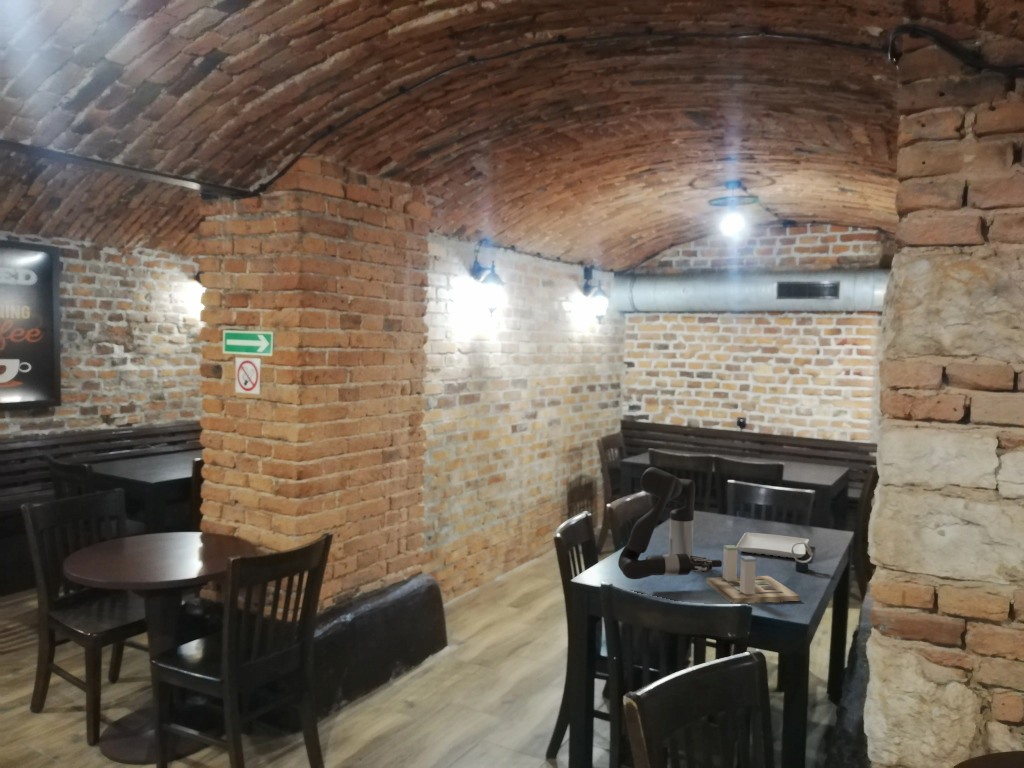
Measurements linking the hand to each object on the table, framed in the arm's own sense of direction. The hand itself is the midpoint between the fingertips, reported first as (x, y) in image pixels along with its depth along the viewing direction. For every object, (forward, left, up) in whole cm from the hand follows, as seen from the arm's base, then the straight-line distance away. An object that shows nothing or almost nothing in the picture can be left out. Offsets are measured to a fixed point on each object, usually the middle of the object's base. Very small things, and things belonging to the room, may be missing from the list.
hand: (720, 563), depth 274 cm
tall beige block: (+3, +1, -6) cm, 7 cm away
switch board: (+10, -4, -9) cm, 14 cm away
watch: (+32, +28, -9) cm, 44 cm away
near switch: (+8, -12, -6) cm, 16 cm away
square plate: (+25, +56, -9) cm, 62 cm away
